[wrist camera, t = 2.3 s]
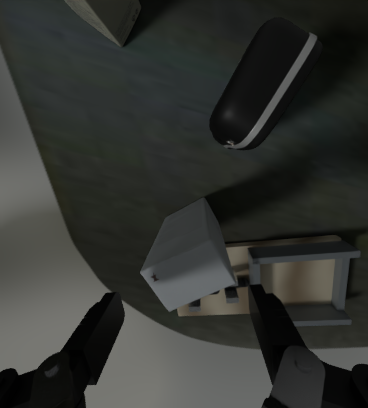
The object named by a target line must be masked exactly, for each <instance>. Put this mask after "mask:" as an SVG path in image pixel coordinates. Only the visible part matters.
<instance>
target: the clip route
mask: <svg viewBox="0 0 368 408" xmlns="http://www.w3.org/2000/svg"><path fill="white" fill-rule="evenodd" d="M232 270H233V273H234V276H235V280H236V283H235V284H233V285H231V286H228V287H226V288H224V292H225V298H226V303H227V304H228V303H239V297H238V293H237V289H236V288H242V287H248V285H249V280H248V279H247V278H237V277H236V273H235V270H234V268H232ZM219 292H220V290H219V291H216V292H214V293H212V294H209V295H215V294H218V293H219ZM188 308H189V312H201V298H200V299H198V300H195V301H193V302H190V303H189V306H188Z"/></svg>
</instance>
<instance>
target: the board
mask: <svg viewBox="0 0 368 408" xmlns="http://www.w3.org/2000/svg"><path fill="white" fill-rule="evenodd" d="M331 241H341V238H340V237H338V236H337V235H329V236H317V237H305V238H293V239H280V240H268V241H256V242H244V243H232V244H225V246H226V250H227V253H228V256H229V259H230V263H231V266H232V268H234V270H235V273H236V277H237V278H247V279H248V280H249V270H248V250H247V248H254V247H267V246H280V245H293V244H305V243H318V242H331ZM334 266H335V259H328V260H313V261H299V262H284V263H269V264H260V284H262V286H263V288H264V290H265V292H266V293H273V294H274V295H276V296H277V297H278V298H279V299H280V300H281V302H282V303H283V305H284V306H294V305H317V304H331V299H332V288H333V277H334ZM236 289H237V293H238V297H239V303H228V304H227V303H226V298H225V292H224V289H221V290H220V292H219V293H218V294H215V295H207V296H205V297H202V298H201V312H189V308H188V306H189V303H188V304H186V305H183V306H181V307H179V308H177V310H178V316H198V315H223V314H249V313H250V311H249V301H248V287H242V288H236Z"/></svg>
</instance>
